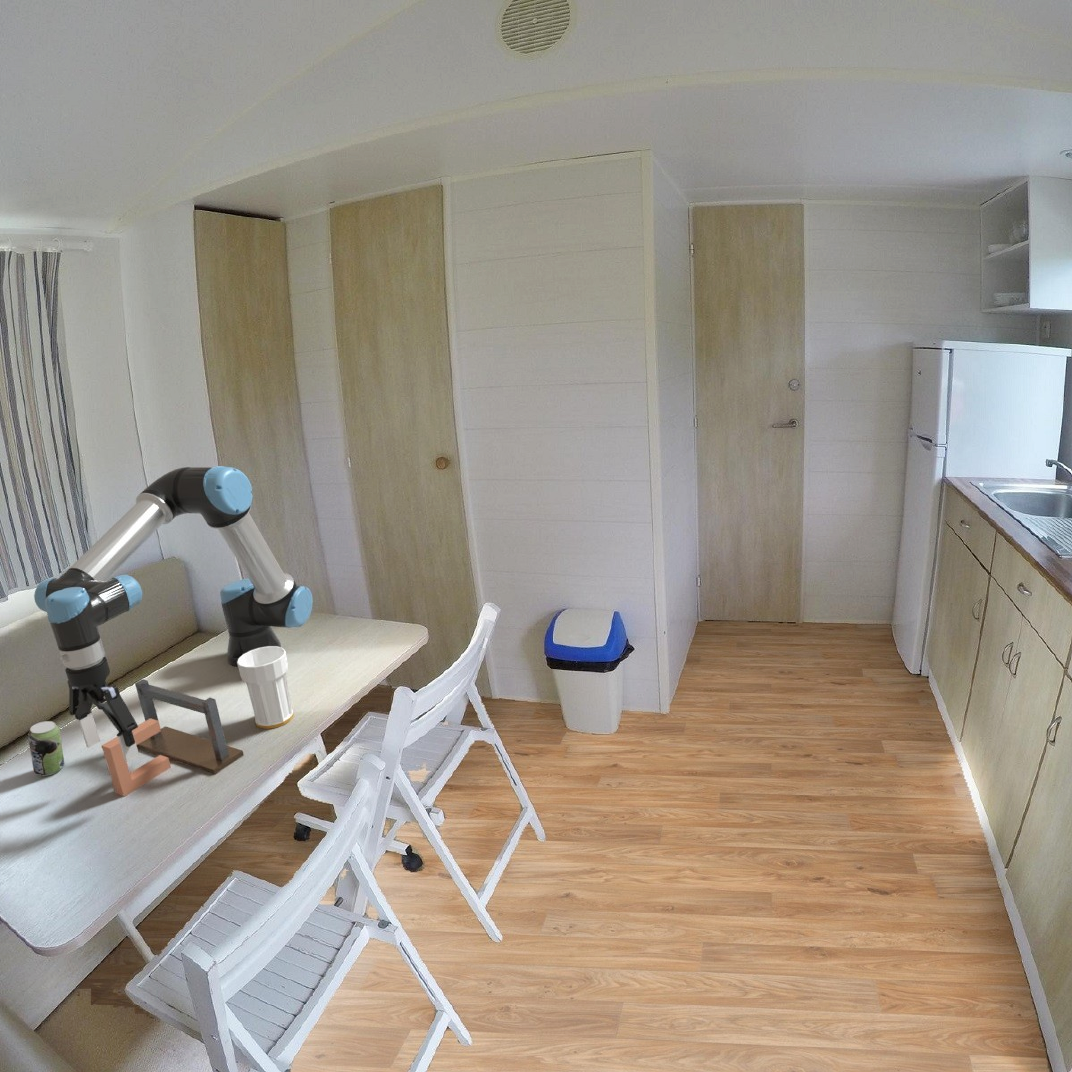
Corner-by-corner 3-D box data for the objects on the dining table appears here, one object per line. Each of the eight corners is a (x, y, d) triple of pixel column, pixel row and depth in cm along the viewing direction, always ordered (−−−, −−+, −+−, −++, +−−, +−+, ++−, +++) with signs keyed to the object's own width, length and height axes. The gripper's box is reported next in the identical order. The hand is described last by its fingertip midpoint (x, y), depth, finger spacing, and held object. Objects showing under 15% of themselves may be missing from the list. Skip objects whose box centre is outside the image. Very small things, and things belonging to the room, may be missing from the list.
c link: (115, 793, 167) (101, 745, 163) (162, 764, 176) (150, 718, 173) (124, 796, 166) (109, 748, 162) (170, 767, 175) (158, 721, 171)
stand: (137, 747, 184) (120, 688, 179) (166, 730, 191) (151, 672, 186) (215, 774, 171) (199, 711, 166) (243, 755, 177) (229, 693, 172)
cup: (241, 728, 189) (226, 664, 184) (271, 704, 199) (258, 643, 193) (278, 734, 185) (264, 669, 179) (307, 710, 195) (295, 648, 189)
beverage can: (43, 765, 180) (29, 720, 177) (76, 761, 181) (62, 716, 177) (29, 781, 174) (14, 735, 171) (62, 777, 175) (48, 731, 171)
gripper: (33, 660, 160) (61, 747, 167) (104, 681, 148) (132, 774, 155) (68, 644, 167) (94, 729, 173) (139, 663, 154) (165, 753, 161)
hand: (112, 751), depth 164 cm, fingers open, 13 cm apart
